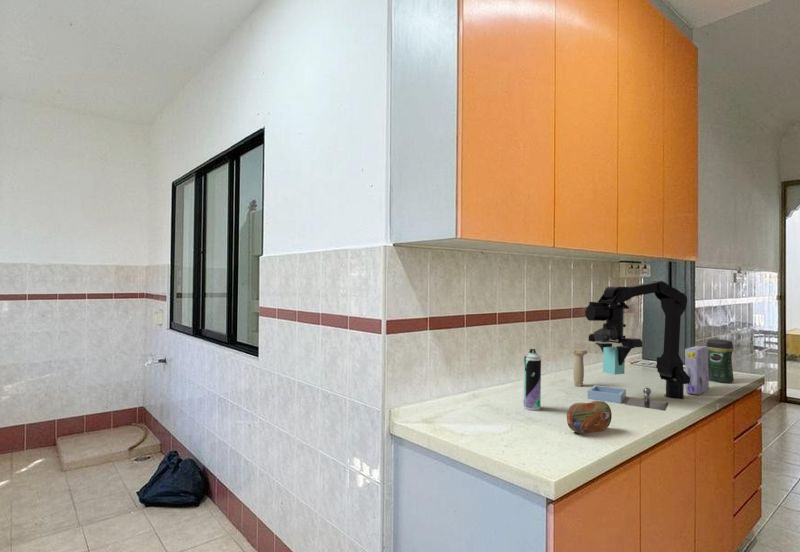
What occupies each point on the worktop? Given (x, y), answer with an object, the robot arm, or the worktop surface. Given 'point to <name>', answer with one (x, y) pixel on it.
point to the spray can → (532, 380)
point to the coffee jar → (720, 360)
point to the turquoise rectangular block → (612, 361)
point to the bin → (607, 394)
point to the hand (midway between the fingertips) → (613, 363)
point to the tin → (589, 417)
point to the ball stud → (647, 402)
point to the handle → (578, 366)
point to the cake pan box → (697, 369)
